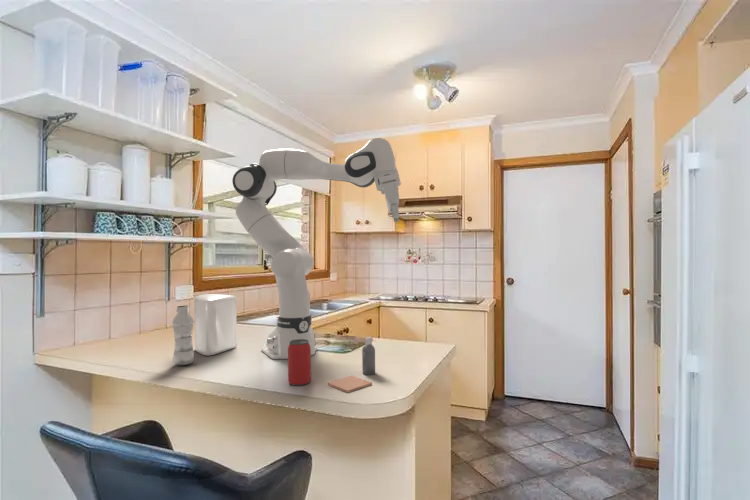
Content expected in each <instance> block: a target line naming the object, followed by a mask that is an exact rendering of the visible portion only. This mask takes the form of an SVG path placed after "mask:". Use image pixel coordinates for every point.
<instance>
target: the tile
mask: <svg viewBox="0 0 750 500" xmlns="http://www.w3.org/2000/svg"><path fill="white" fill-rule="evenodd" d="M372 385H373V382H372V381H369V380H366V379H363V378H361V377H357V376H355V375H349V376H345V377H343V378H339V379H335V380H332V381H328V382H327V386H329V387H332V388H335V389H337V390H340V391H341V392H342V391H343V392H345V393H351V392H354V391H357V390H360V389H363V388H366V387H369V386H372Z"/></svg>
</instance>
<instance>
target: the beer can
mask: <svg viewBox="0 0 750 500" xmlns="http://www.w3.org/2000/svg"><path fill="white" fill-rule="evenodd" d="M289 343H290V344H289V347H288V359H287V374H288V375H287V380H288V383H289V384H290V385H292V386H304V385H307V384H309V383H310V382H311V381H312V355H311V348H310V345H309V341H308V340H305V339H298V340H292V341H290V342H289Z"/></svg>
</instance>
